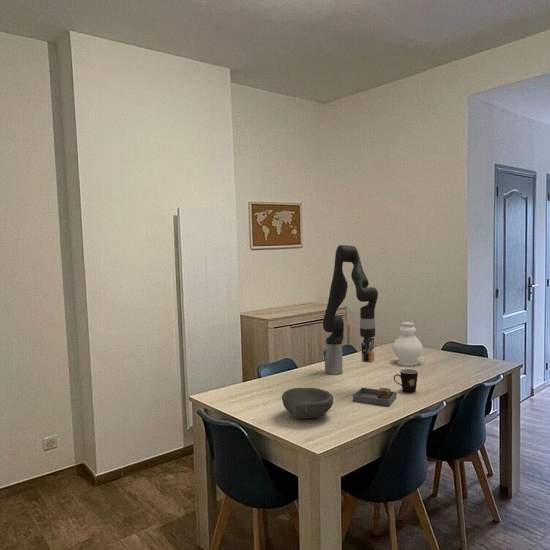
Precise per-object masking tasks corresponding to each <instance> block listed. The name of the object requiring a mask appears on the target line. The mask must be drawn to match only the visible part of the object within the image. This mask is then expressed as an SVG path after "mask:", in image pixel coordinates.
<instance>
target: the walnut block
mask: <svg viewBox="0 0 550 550" xmlns="http://www.w3.org/2000/svg"><path fill="white" fill-rule="evenodd" d="M391 391H392V390H391V388H387V387H379V388H378V389H377V398H380V399H387V400H388V399H389V398H390V397H391Z"/></svg>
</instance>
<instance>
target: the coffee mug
mask: <svg viewBox="0 0 550 550" xmlns="http://www.w3.org/2000/svg"><path fill="white" fill-rule="evenodd" d="M418 374H419V371H418V370H417V369H413V368H412V369H411V368H404V369H400V374H398V373H397V374H395V375H393V380H394V382H395V383H396V384H398V385H400V386H401V388H402V392H404V393H406V394H412V393H416V391H417V386H418V385H417V384H418V383H417V382H418V377H419V376H418ZM398 376H399V377H400V381H401V383H400V382H398V381H397V380H396V377H398Z"/></svg>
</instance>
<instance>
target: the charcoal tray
mask: <svg viewBox="0 0 550 550" xmlns="http://www.w3.org/2000/svg"><path fill="white" fill-rule="evenodd" d="M377 390H378V389H376V388H367V387H361V388H360V389H358V390H357V391H356V392H355V393H354V394H352V402H355V403H362V404H367V405H368V404H370V405H375V406H381V407H382V406H383V407H390V406H391V405H392V404H393V402H394V401H395V400H396V399H397V392H396V391H392V390H391V397H390V398H389V399H388V400H387V399H380V398H377Z"/></svg>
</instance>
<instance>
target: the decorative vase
mask: <svg viewBox="0 0 550 550" xmlns="http://www.w3.org/2000/svg"><path fill="white" fill-rule="evenodd" d="M401 325H402V326H400V328H399V331H400V333H401V335H399V336H398V337H397V338H396V340H395V341H394V343H393V345H392V351H393V353H394V354H395V356H396V357H397V358H398V359H399V360H398V361H397V362H396V363H397V364H398V365H400V366H406V367H413V366H417V365H419V362H418V361H417V360H418V359H419V358H420V357H421V356H422V355H423V351H424V348H423V344H422V342H421V341H420V339H419V338H418V337H417V336H416V335H414V333H415V332H416V331H417V330H416V327H415V326H414V325H415V323H414V322H413V321H402V322H401Z"/></svg>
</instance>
